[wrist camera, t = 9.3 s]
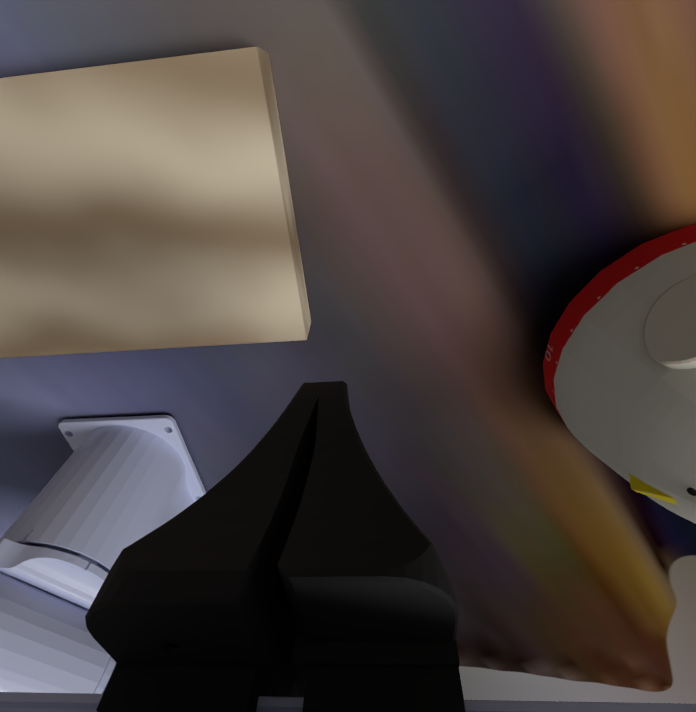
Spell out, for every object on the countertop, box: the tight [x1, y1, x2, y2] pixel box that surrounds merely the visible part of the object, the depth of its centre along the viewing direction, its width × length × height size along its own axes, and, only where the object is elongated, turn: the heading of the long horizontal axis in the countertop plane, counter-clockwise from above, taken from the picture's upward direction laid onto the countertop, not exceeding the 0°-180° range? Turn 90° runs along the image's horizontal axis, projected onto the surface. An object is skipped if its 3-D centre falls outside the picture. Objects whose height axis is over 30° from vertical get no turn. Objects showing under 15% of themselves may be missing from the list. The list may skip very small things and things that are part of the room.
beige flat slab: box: [0, 47, 311, 358], centre depth 19 cm, size 12×20×2 cm, turn 95°
